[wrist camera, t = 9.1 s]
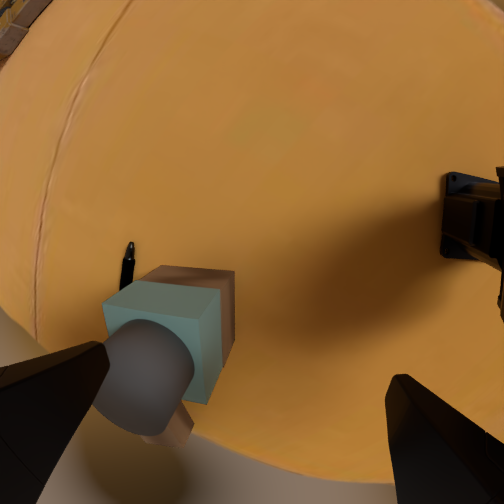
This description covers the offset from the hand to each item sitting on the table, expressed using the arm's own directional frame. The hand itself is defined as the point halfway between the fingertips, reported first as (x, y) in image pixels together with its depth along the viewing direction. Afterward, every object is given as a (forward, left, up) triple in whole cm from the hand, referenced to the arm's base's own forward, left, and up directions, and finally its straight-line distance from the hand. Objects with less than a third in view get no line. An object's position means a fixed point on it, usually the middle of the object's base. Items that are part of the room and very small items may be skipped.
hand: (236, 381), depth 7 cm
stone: (+6, +4, -5) cm, 9 cm away
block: (+11, +18, -13) cm, 25 cm away
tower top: (+6, +4, -9) cm, 12 cm away
